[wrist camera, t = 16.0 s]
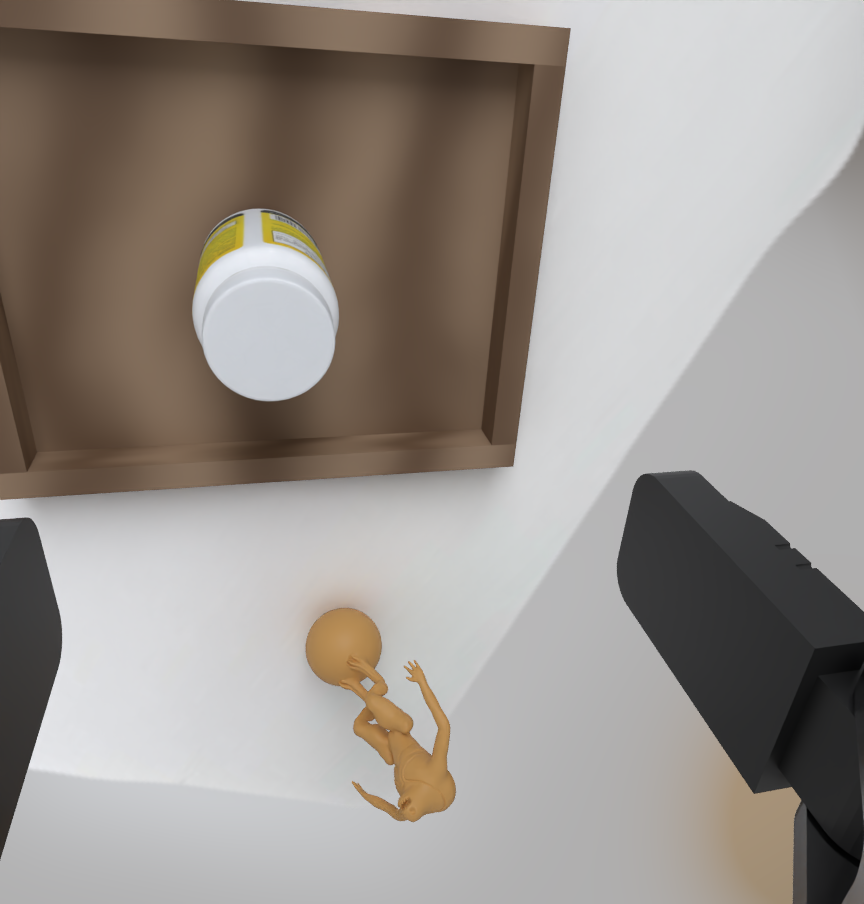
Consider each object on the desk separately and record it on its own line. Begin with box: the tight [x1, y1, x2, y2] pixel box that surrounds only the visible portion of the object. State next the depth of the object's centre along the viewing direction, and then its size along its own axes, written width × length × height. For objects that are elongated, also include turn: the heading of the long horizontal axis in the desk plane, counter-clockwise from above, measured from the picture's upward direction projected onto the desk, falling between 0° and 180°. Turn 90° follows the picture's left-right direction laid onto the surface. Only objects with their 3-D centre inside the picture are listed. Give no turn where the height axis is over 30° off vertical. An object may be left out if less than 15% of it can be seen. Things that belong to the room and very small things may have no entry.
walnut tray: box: [0, 0, 571, 500], centre depth 28 cm, size 22×18×2 cm
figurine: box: [306, 608, 456, 822], centre depth 35 cm, size 8×6×12 cm
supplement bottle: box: [192, 209, 339, 401], centre depth 25 cm, size 5×5×8 cm
